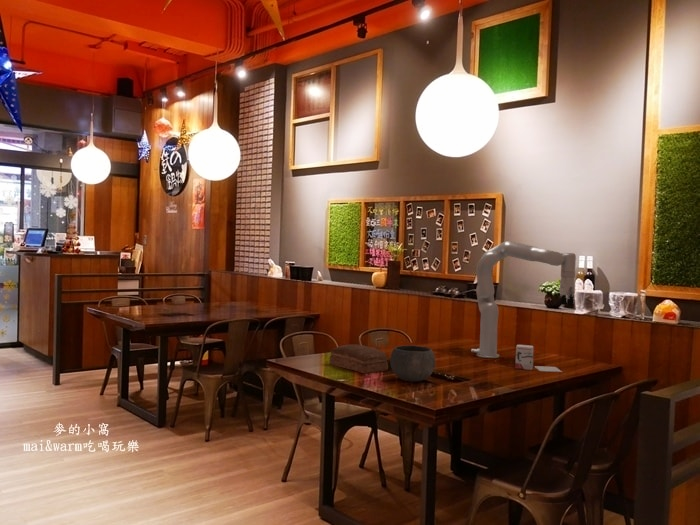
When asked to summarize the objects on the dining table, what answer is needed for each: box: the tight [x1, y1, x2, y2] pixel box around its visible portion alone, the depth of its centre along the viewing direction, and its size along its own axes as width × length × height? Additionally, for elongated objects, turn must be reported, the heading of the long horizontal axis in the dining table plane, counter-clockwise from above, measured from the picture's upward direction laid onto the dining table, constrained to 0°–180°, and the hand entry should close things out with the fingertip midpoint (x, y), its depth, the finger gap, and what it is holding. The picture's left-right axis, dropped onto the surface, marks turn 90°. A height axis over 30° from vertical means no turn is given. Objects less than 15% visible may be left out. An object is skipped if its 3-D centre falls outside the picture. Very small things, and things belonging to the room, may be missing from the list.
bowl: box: [389, 344, 436, 383], centre depth 277 cm, size 20×20×15 cm
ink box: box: [515, 344, 535, 371], centre depth 312 cm, size 9×5×12 cm, turn 70°
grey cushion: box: [329, 344, 389, 374], centre depth 306 cm, size 17×29×11 cm, turn 38°
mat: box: [533, 365, 563, 373], centre depth 312 cm, size 11×12×1 cm
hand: (566, 305), depth 341 cm, fingers open, 9 cm apart
